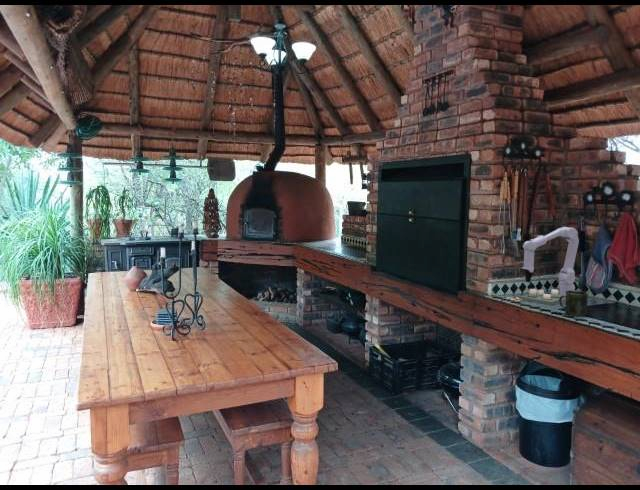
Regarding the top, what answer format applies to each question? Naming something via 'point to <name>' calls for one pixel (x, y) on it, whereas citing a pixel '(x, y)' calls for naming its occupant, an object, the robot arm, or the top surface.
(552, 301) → the grey-green board with holes
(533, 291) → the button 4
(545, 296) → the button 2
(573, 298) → the mug
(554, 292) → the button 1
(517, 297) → the tile
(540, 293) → the beige cylinder
